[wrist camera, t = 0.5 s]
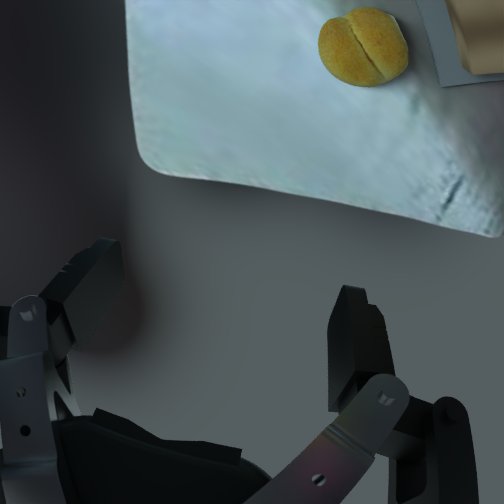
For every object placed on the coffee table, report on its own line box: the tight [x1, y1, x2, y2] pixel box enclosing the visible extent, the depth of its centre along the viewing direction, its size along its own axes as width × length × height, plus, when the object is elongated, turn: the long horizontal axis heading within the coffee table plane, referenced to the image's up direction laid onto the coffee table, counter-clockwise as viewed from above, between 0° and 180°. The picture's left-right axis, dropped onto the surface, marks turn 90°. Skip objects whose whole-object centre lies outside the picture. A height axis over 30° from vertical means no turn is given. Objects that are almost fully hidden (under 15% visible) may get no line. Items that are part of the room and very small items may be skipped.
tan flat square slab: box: [444, 0, 504, 75], centre depth 16 cm, size 10×10×3 cm
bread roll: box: [318, 7, 409, 87], centre depth 24 cm, size 8×9×4 cm
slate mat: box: [416, 0, 504, 87], centre depth 17 cm, size 16×14×1 cm
